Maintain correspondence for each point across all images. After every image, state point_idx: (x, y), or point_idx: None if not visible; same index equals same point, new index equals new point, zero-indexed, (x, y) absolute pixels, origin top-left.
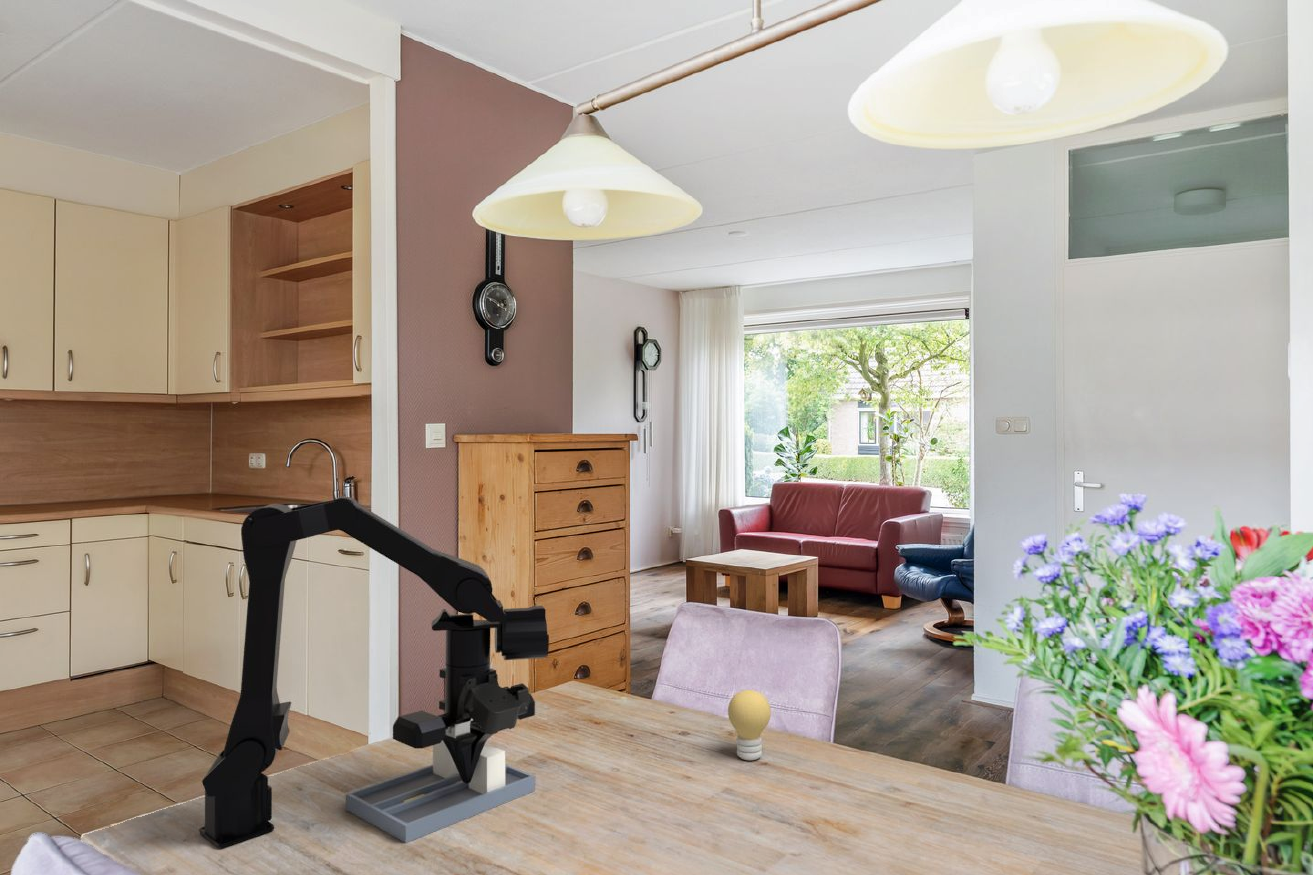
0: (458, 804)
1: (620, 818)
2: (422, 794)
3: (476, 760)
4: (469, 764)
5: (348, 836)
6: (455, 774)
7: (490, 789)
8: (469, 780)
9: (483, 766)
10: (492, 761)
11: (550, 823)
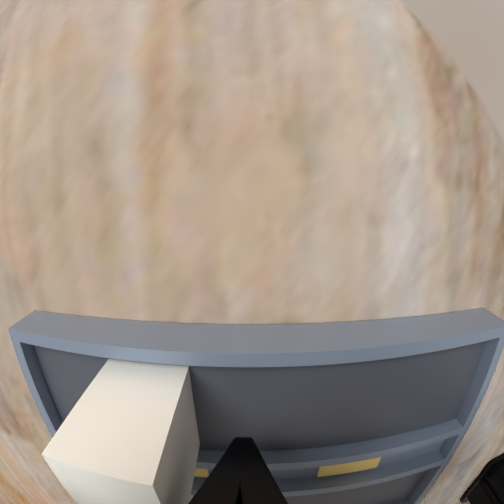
0: (344, 358)
1: (25, 10)
2: (322, 474)
3: (207, 499)
4: (252, 494)
5: (487, 403)
6: (192, 496)
7: (168, 376)
8: (241, 442)
9: (169, 461)
10: (124, 454)
11: (131, 73)
